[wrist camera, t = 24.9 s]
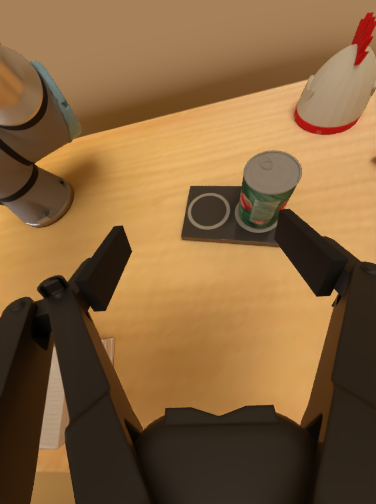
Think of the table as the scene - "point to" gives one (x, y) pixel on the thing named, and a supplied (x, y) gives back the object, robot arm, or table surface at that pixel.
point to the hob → (220, 218)
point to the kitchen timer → (340, 86)
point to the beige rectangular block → (60, 403)
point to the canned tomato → (267, 188)
